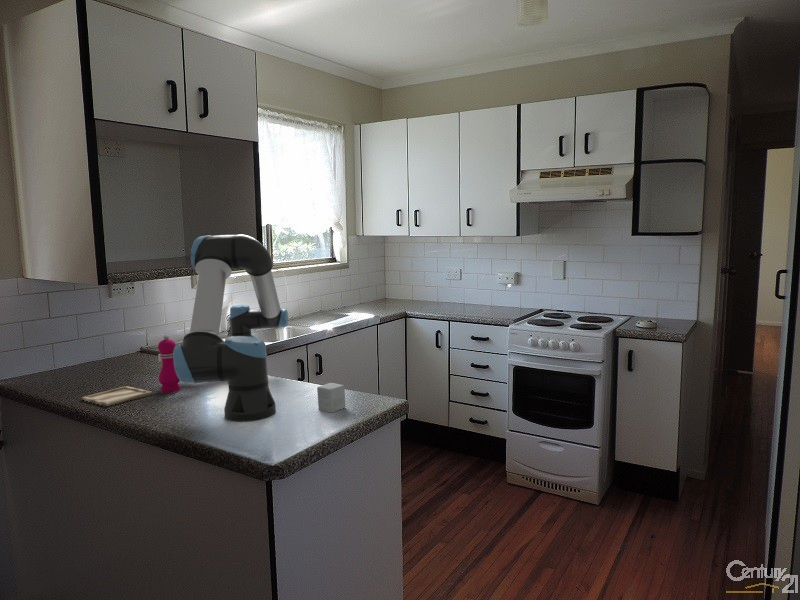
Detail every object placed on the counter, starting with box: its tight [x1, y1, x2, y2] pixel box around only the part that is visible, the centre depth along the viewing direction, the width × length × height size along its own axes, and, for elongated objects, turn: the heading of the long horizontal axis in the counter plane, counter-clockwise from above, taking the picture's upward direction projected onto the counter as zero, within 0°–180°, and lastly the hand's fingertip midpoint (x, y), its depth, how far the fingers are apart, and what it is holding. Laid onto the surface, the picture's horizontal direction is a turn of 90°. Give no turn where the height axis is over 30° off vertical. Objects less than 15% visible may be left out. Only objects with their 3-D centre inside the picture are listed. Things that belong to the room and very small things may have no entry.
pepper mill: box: [157, 334, 181, 394], centre depth 209 cm, size 7×7×20 cm
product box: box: [316, 382, 346, 413], centre depth 181 cm, size 6×6×7 cm
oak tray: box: [81, 385, 153, 407], centre depth 204 cm, size 16×16×1 cm
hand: (168, 360), depth 210 cm, fingers open, 13 cm apart
